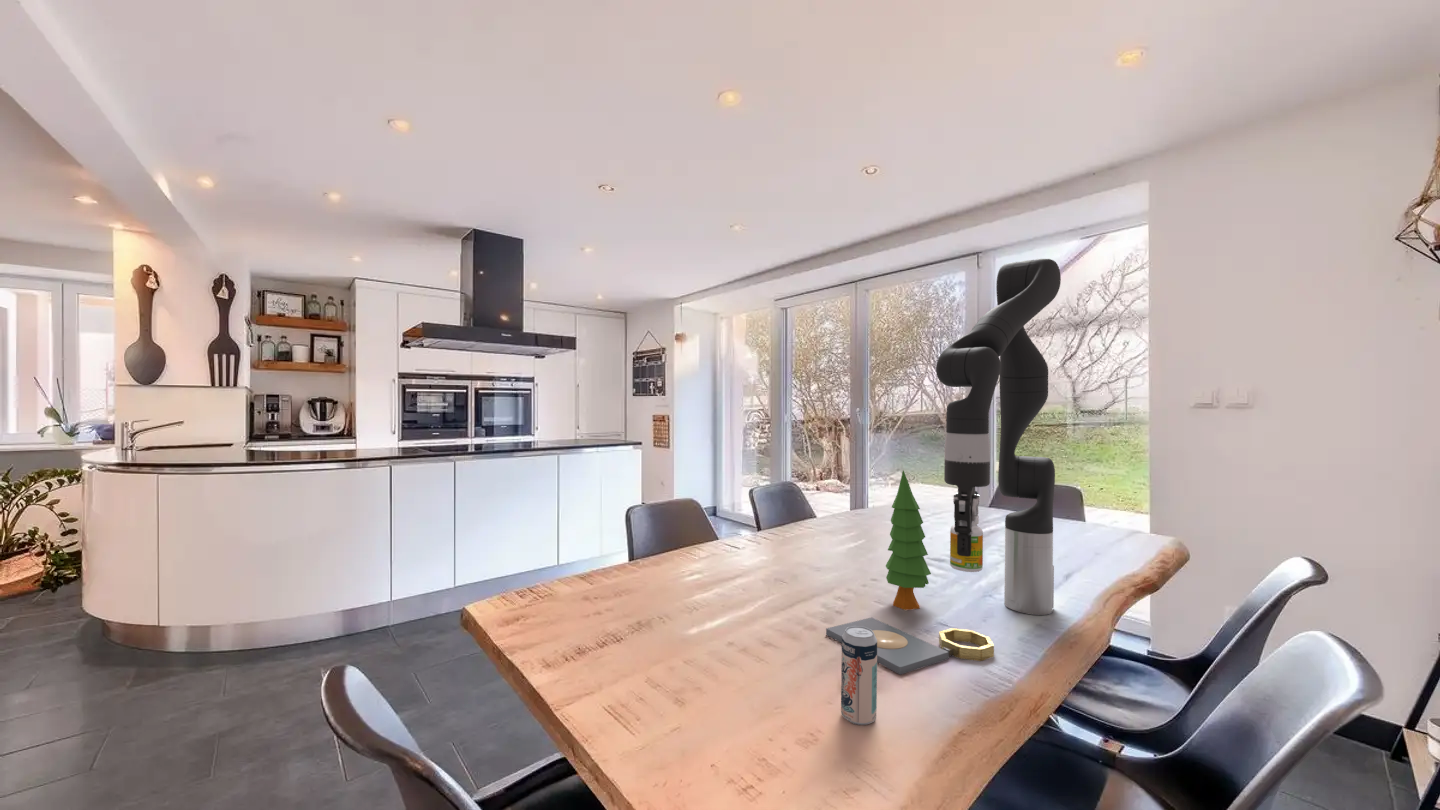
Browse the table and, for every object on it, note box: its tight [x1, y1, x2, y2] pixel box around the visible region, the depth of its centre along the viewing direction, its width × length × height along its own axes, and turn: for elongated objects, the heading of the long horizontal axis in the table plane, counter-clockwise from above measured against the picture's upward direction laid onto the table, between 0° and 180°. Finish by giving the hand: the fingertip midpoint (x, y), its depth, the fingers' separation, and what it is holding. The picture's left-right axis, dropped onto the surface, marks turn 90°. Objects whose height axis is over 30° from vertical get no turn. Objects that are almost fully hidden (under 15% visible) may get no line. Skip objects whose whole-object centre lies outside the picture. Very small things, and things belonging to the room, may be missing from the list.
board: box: [825, 616, 950, 676], centre depth 100 cm, size 12×18×1 cm, turn 30°
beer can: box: [840, 626, 878, 726], centre depth 77 cm, size 5×5×12 cm
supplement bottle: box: [949, 514, 984, 573], centre depth 100 cm, size 5×5×10 cm
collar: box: [938, 627, 995, 662], centre depth 99 cm, size 11×9×2 cm
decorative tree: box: [885, 469, 932, 611], centre depth 122 cm, size 10×9×30 cm
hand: (966, 551), depth 100 cm, fingers closed on supplement bottle, 5 cm apart
